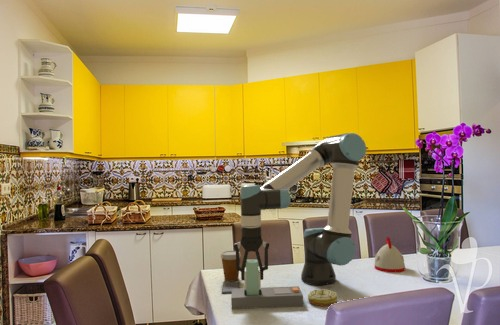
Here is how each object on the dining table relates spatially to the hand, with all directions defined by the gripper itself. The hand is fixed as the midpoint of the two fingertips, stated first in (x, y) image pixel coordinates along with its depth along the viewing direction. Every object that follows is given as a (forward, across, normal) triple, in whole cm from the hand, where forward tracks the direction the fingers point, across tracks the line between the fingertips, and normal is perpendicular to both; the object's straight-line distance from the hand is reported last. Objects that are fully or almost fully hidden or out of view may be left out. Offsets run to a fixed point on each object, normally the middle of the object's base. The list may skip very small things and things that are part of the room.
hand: (252, 288), depth 135 cm
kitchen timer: (+5, -68, -39) cm, 79 cm away
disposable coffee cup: (+6, +9, -31) cm, 33 cm away
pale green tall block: (+2, 0, 0) cm, 2 cm away
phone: (+6, +9, -18) cm, 21 cm away
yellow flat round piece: (+6, -26, +1) cm, 27 cm away
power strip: (+5, -5, 0) cm, 7 cm away
